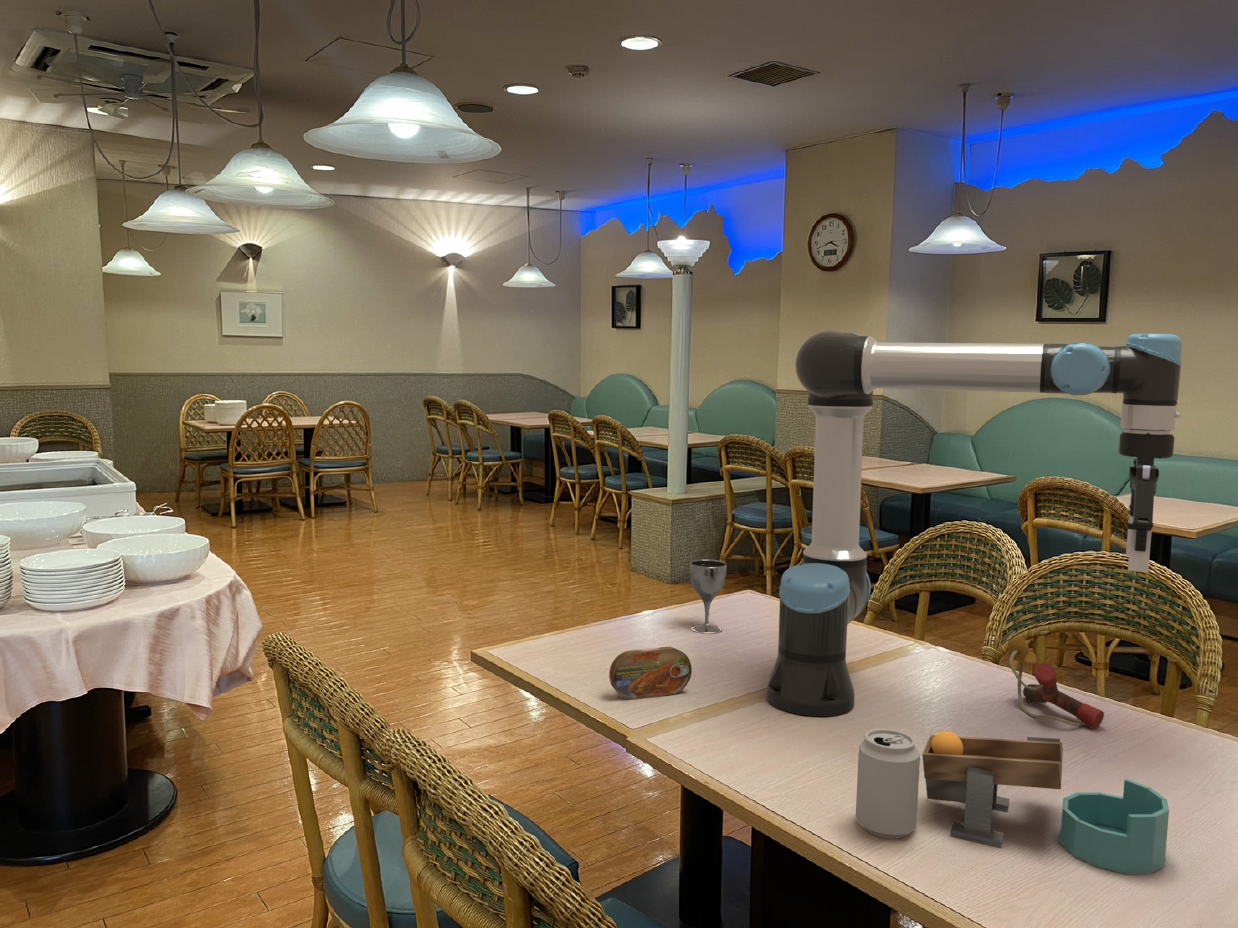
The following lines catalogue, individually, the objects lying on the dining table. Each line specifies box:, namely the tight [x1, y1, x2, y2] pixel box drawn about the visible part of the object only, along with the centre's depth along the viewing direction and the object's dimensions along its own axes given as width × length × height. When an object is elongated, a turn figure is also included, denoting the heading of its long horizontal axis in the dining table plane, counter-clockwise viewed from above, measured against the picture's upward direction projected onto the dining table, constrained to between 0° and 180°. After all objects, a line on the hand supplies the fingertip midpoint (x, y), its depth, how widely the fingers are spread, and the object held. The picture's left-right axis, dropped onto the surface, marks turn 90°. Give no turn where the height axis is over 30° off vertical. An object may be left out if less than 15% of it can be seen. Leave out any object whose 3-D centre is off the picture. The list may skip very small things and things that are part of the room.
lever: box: [922, 734, 1064, 804], centre depth 120 cm, size 16×13×6 cm
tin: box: [608, 646, 693, 701], centre depth 162 cm, size 15×3×8 cm, turn 109°
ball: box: [931, 731, 963, 755], centre depth 120 cm, size 4×4×4 cm
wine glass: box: [689, 558, 727, 633], centre depth 202 cm, size 8×8×15 cm
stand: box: [949, 767, 1010, 849], centre depth 119 cm, size 6×13×8 cm, turn 153°
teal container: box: [1059, 778, 1170, 875], centre depth 112 cm, size 11×11×7 cm
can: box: [855, 728, 921, 839], centre depth 116 cm, size 8×8×12 cm
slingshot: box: [1007, 636, 1105, 730], centre depth 156 cm, size 17×10×15 cm
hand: (1136, 563), depth 147 cm, fingers open, 13 cm apart
